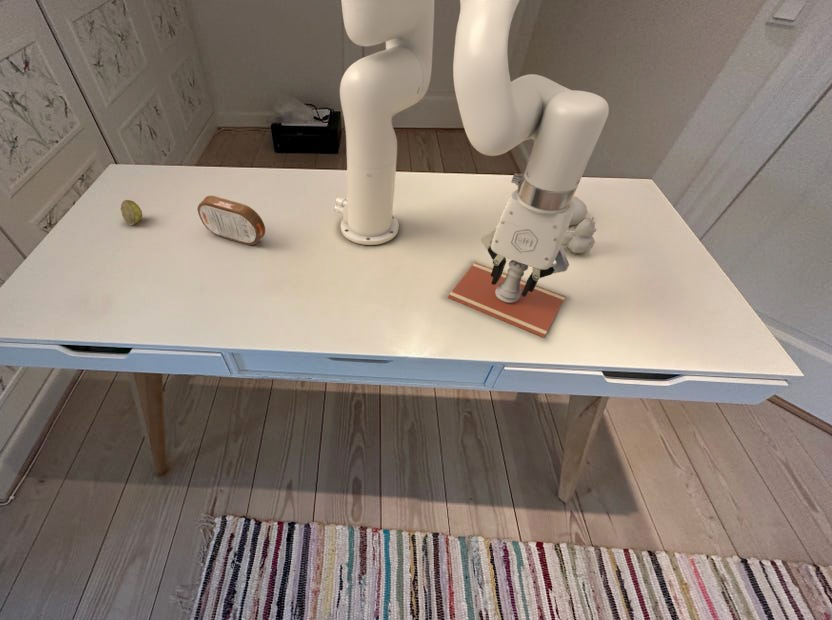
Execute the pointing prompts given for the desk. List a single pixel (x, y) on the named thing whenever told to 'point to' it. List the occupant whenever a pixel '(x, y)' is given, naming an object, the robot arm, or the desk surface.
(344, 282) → the desk surface
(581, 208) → the donut
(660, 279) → the desk surface
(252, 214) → the tin
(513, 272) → the rook chess piece
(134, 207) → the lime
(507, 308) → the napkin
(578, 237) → the grey lumpy figurine
